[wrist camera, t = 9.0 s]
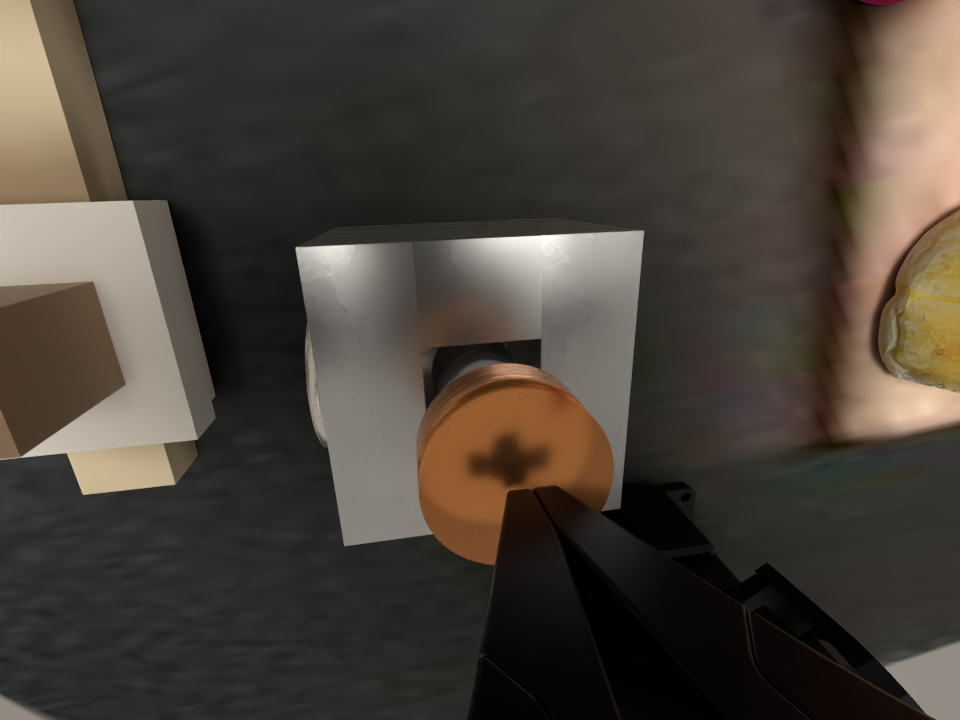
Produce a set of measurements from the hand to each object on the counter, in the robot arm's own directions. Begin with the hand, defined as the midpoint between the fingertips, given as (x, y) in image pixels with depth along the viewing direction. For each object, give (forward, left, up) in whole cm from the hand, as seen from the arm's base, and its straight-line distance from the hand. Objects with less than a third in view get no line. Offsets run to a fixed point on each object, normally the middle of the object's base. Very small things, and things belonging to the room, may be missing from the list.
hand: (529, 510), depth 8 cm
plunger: (0, 0, -7) cm, 7 cm away
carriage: (+2, +12, -11) cm, 17 cm away
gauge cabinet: (0, 0, -11) cm, 11 cm away
